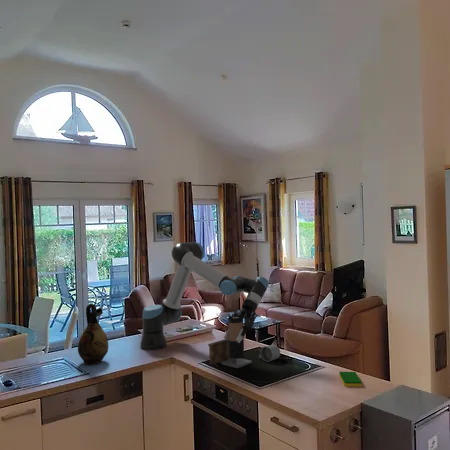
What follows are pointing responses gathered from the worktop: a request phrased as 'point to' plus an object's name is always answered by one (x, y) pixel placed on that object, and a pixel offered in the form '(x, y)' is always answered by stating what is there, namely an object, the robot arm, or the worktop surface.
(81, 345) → the ceramic jug
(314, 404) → the worktop surface
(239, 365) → the slate tile
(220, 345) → the walnut screen
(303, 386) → the worktop surface
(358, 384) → the dish sponge
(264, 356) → the ceramic mug
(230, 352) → the travel mug
